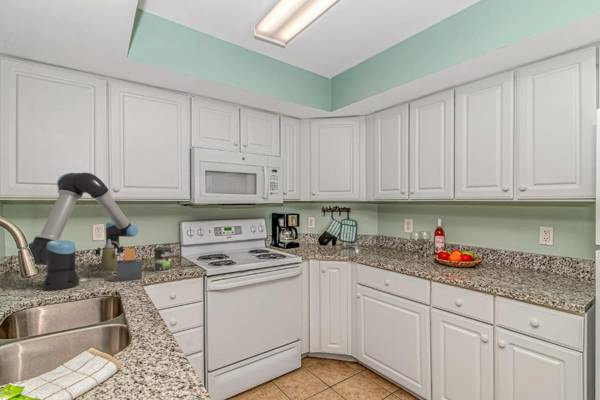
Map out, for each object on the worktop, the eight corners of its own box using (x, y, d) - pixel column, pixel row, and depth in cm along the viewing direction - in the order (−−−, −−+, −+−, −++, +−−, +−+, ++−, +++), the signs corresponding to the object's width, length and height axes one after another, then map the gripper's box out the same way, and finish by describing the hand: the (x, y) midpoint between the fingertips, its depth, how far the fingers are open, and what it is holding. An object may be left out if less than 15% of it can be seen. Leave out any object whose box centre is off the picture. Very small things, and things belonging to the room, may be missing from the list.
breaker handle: (123, 262, 167) (123, 249, 167) (123, 261, 170) (123, 249, 170) (135, 261, 170) (135, 249, 170) (135, 260, 173) (135, 248, 173)
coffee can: (174, 270, 193) (174, 248, 193) (159, 273, 185) (159, 250, 185) (166, 268, 199) (166, 246, 199) (150, 271, 191) (150, 248, 191)
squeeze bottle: (113, 271, 174) (113, 239, 174) (98, 271, 173) (98, 240, 173) (119, 268, 182) (119, 238, 182) (105, 268, 181) (104, 238, 181)
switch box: (117, 281, 165) (117, 263, 165) (118, 278, 172) (117, 260, 172) (141, 279, 171) (141, 261, 171) (141, 276, 178) (141, 258, 178)
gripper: (129, 251, 198) (128, 258, 178) (93, 254, 189) (88, 261, 168) (128, 240, 198) (128, 245, 178) (93, 242, 189) (87, 248, 168)
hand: (108, 253), depth 173 cm, fingers closed on squeeze bottle, 6 cm apart
